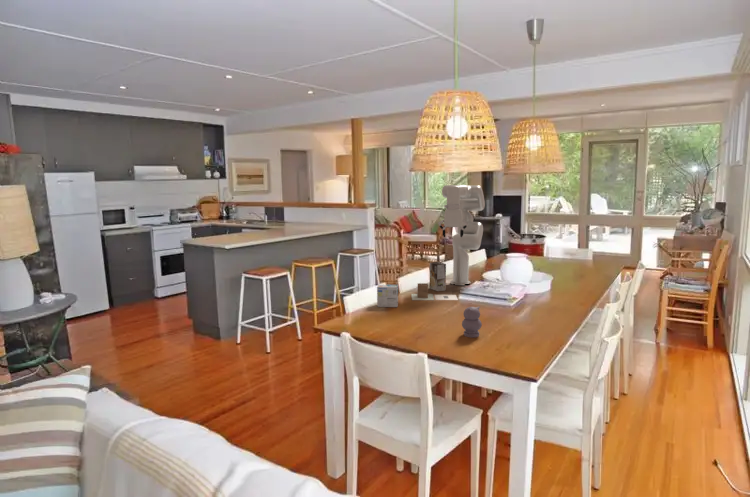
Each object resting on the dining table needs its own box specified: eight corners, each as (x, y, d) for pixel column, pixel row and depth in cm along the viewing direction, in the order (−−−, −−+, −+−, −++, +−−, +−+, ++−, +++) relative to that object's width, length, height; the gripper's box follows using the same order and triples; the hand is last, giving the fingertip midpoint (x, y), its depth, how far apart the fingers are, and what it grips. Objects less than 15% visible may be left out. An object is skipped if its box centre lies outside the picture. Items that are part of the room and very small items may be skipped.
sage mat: (411, 294, 264) (411, 293, 264) (432, 294, 263) (432, 293, 263) (412, 300, 250) (412, 299, 250) (434, 300, 250) (434, 299, 250)
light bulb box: (398, 304, 243) (398, 284, 241) (397, 307, 236) (397, 287, 235) (378, 303, 244) (378, 283, 242) (376, 307, 237) (376, 286, 236)
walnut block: (417, 295, 260) (417, 283, 259) (427, 295, 259) (427, 283, 258) (417, 297, 254) (418, 285, 253) (427, 297, 254) (428, 285, 253)
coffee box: (446, 290, 273) (446, 263, 271) (437, 291, 271) (437, 264, 268) (437, 287, 282) (438, 261, 279) (428, 288, 279) (429, 262, 277)
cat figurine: (470, 330, 198) (470, 303, 197) (485, 334, 193) (486, 307, 191) (457, 334, 193) (458, 306, 191) (472, 339, 187) (473, 310, 185)
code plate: (434, 294, 262) (434, 294, 262) (455, 295, 262) (455, 294, 262) (436, 300, 250) (436, 299, 250) (458, 300, 250) (458, 299, 250)
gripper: (438, 207, 261) (438, 237, 263) (469, 207, 260) (468, 237, 262) (437, 207, 268) (437, 236, 270) (467, 206, 267) (466, 236, 270)
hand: (452, 236), depth 266 cm, fingers open, 9 cm apart
